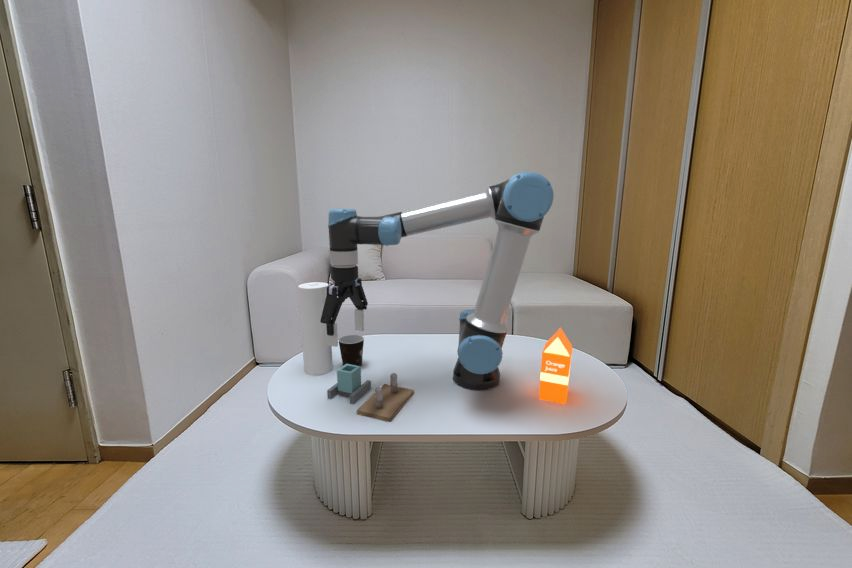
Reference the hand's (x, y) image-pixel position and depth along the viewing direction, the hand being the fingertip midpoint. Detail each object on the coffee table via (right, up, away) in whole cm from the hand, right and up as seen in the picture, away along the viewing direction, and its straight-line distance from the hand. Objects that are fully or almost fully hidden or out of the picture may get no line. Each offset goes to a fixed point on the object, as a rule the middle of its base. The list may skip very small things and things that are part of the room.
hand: (347, 337), depth 108 cm
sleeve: (0, -17, +4) cm, 18 cm away
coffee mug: (-4, -14, +21) cm, 25 cm away
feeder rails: (0, -17, +4) cm, 18 cm away
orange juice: (+61, -18, +3) cm, 64 cm away
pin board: (+12, -18, -2) cm, 22 cm away
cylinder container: (-14, -14, +20) cm, 28 cm away
